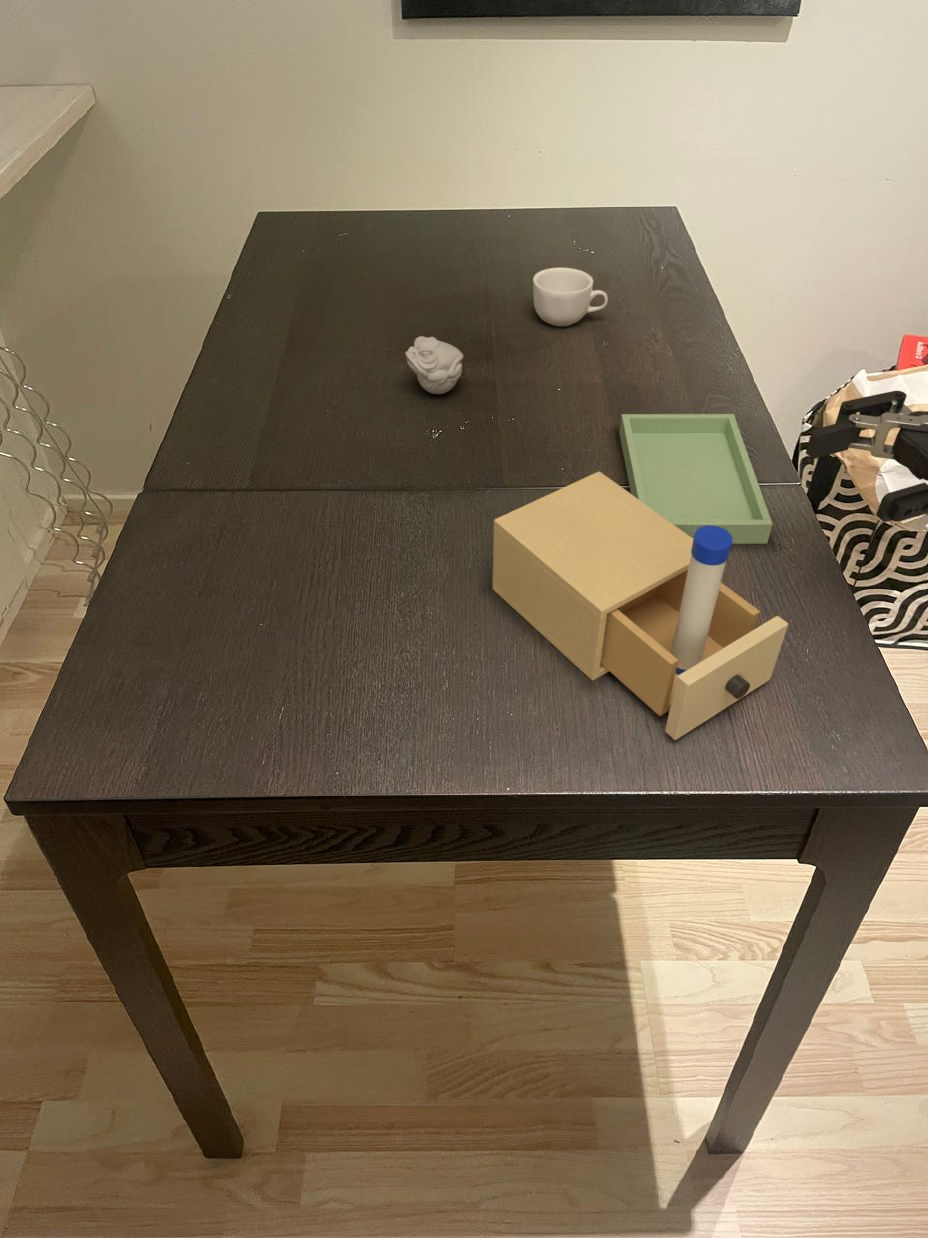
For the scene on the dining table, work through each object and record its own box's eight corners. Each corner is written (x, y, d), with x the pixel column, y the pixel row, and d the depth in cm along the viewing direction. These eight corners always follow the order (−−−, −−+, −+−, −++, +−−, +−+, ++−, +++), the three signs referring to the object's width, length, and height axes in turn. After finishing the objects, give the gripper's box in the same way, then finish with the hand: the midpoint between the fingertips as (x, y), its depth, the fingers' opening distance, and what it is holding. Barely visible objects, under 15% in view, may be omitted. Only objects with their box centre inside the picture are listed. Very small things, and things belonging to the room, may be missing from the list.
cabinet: (695, 621, 87) (711, 551, 81) (592, 681, 82) (601, 611, 76) (591, 539, 95) (599, 470, 89) (492, 589, 90) (493, 519, 84)
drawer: (781, 688, 80) (800, 632, 75) (685, 750, 75) (700, 695, 71) (659, 592, 89) (670, 536, 84) (567, 643, 84) (572, 587, 79)
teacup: (525, 328, 126) (527, 289, 122) (537, 302, 132) (539, 264, 128) (600, 337, 124) (604, 298, 121) (609, 310, 130) (613, 272, 126)
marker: (705, 659, 81) (737, 531, 71) (694, 681, 79) (726, 553, 69) (673, 648, 82) (701, 521, 72) (662, 670, 80) (689, 542, 70)
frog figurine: (401, 383, 117) (398, 330, 112) (456, 374, 118) (455, 321, 113) (414, 409, 112) (412, 355, 108) (471, 399, 114) (471, 345, 109)
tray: (767, 543, 95) (773, 524, 93) (640, 543, 95) (643, 524, 93) (729, 432, 109) (733, 413, 107) (619, 432, 109) (621, 413, 107)
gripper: (963, 345, 78) (799, 386, 74) (1105, 437, 69) (927, 490, 65) (932, 423, 84) (777, 465, 79) (1060, 517, 74) (892, 571, 70)
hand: (845, 476), depth 72 cm, fingers open, 8 cm apart
